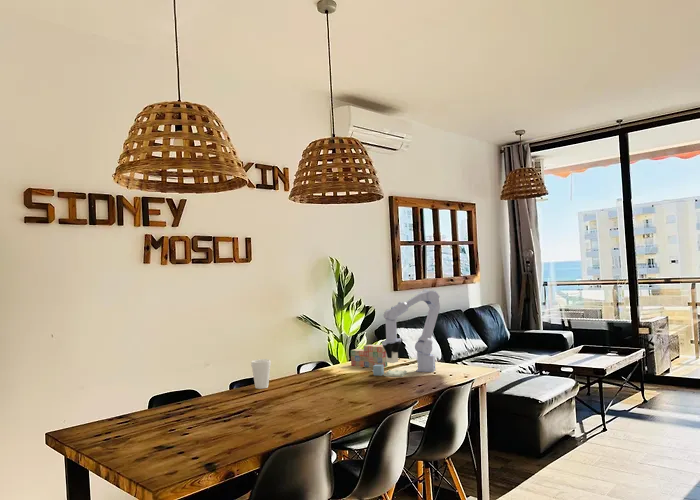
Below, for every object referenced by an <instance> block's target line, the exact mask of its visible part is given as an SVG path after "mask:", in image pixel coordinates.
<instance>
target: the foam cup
mask: <svg viewBox="0 0 700 500" xmlns="http://www.w3.org/2000/svg"><path fill="white" fill-rule="evenodd" d="M250 363H251V364H250V365H251V369H252V375H253V381H254V388H255V389H259V390H261V389H268V387H269V385H270V384H269V383H270V381H269V380H270V373H271V372H270V371H271V365H272V364H271V363H272V360H271V359H267V358H262V359H261V358H260V359H253V360H251V362H250Z"/></svg>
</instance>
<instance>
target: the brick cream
mask: <svg viewBox="0 0 700 500" xmlns="http://www.w3.org/2000/svg"><path fill="white" fill-rule="evenodd" d="M386 362H387V363H388V364H395V363H398V362H399V351H398V352H393V351H392V357H391V358H388V357H387V354H386Z"/></svg>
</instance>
